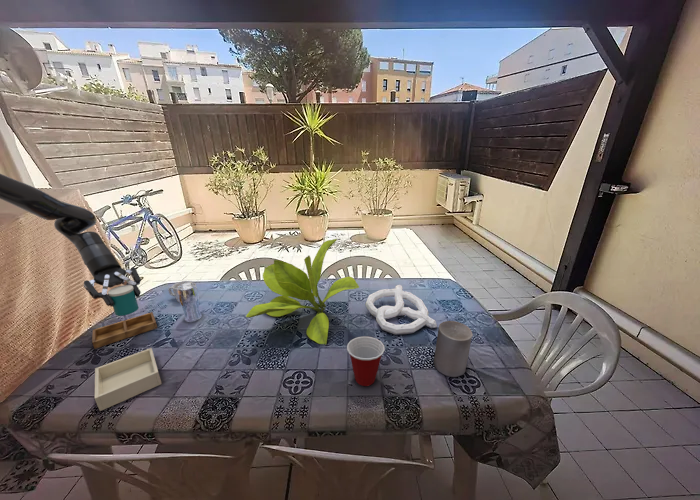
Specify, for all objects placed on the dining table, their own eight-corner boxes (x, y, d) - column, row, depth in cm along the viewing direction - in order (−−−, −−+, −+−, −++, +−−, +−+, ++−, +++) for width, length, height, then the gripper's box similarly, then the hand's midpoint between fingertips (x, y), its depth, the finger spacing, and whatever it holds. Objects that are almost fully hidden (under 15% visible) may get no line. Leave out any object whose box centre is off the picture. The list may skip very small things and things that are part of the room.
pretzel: (442, 330, 106) (445, 317, 103) (389, 347, 98) (391, 334, 95) (404, 290, 129) (405, 279, 126) (358, 301, 121) (359, 289, 118)
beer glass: (207, 316, 112) (200, 284, 107) (191, 325, 106) (183, 291, 101) (195, 312, 114) (188, 280, 109) (179, 321, 108) (171, 288, 103)
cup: (165, 304, 121) (161, 288, 118) (176, 295, 128) (173, 280, 125) (189, 305, 120) (185, 288, 118) (199, 296, 128) (196, 280, 125)
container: (115, 318, 87) (107, 296, 84) (114, 310, 91) (107, 288, 89) (140, 311, 91) (134, 289, 88) (138, 303, 95) (132, 283, 93)
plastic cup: (378, 363, 87) (379, 332, 83) (387, 391, 77) (389, 357, 73) (344, 367, 86) (344, 335, 81) (349, 395, 75) (349, 361, 71)
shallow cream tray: (100, 412, 70) (94, 398, 69) (100, 381, 80) (94, 368, 78) (162, 384, 79) (158, 371, 77) (155, 359, 88) (151, 347, 87)
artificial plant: (276, 306, 131) (231, 268, 113) (347, 254, 132) (315, 208, 114) (294, 381, 98) (235, 345, 80) (390, 310, 99) (353, 259, 81)
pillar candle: (435, 352, 92) (440, 314, 87) (466, 360, 89) (473, 321, 84) (431, 372, 84) (437, 331, 79) (465, 381, 80) (473, 340, 75)
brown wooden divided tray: (95, 350, 92) (92, 342, 91) (95, 337, 99) (92, 329, 98) (158, 329, 104) (156, 322, 102) (154, 318, 110) (152, 311, 109)
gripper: (71, 261, 83) (99, 305, 81) (127, 248, 94) (152, 286, 93) (71, 273, 87) (97, 315, 85) (124, 259, 99) (148, 296, 97)
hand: (125, 300), depth 89 cm, fingers closed on container, 6 cm apart
